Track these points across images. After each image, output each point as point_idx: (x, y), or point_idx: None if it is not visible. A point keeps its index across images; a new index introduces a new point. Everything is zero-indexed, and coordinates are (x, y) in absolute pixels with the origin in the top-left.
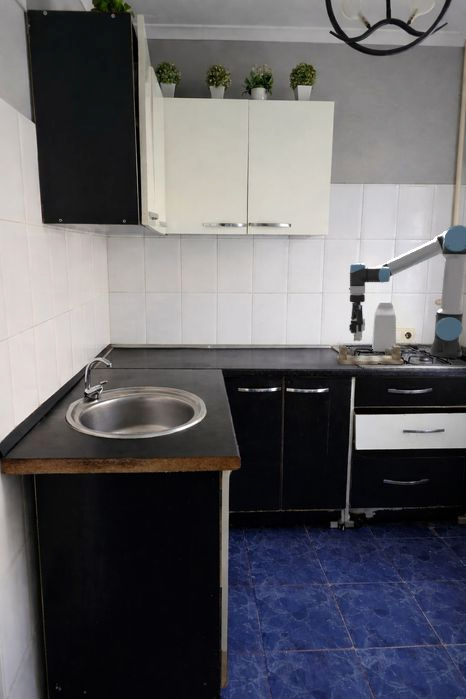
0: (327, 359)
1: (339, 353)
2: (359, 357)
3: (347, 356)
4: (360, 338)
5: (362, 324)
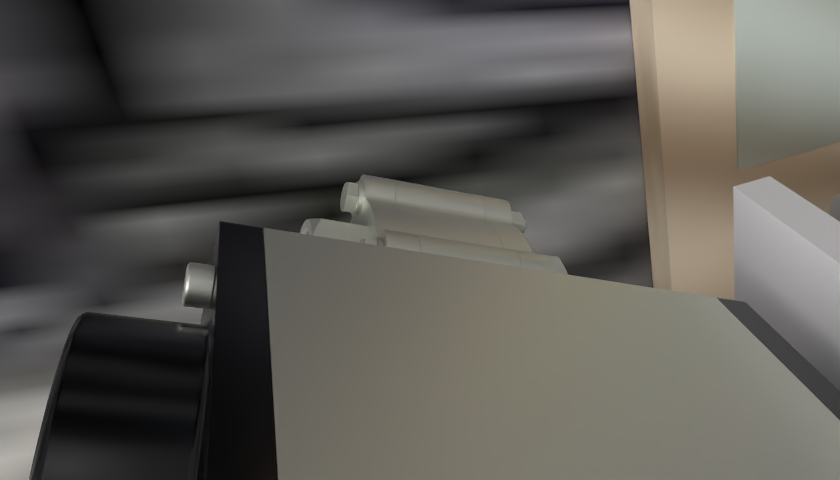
0: None
1: None
2: (789, 82)
3: (707, 255)
4: (439, 212)
5: (558, 417)
